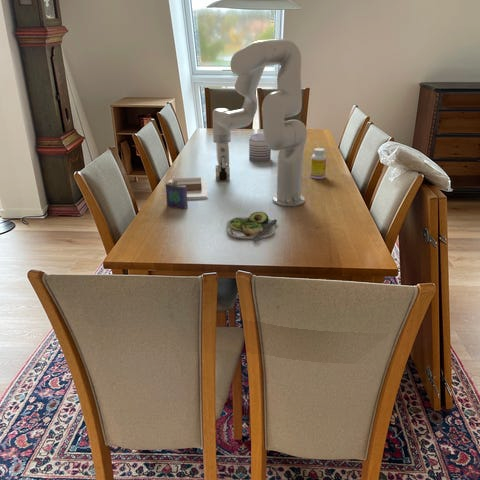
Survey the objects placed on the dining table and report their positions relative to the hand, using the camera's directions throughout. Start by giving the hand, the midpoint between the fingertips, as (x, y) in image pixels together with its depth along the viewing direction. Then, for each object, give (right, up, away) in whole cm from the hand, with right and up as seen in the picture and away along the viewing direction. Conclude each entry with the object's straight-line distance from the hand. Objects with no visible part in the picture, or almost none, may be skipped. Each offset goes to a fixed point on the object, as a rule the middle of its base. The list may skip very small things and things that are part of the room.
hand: (222, 177), depth 209 cm
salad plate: (+12, -25, -48) cm, 55 cm away
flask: (-17, -15, -29) cm, 37 cm away
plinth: (-15, -6, -13) cm, 21 cm away
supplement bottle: (+43, 0, +2) cm, 43 cm away
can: (+18, +13, +28) cm, 36 cm away
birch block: (0, -1, 0) cm, 1 cm away
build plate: (-15, -7, -13) cm, 21 cm away
